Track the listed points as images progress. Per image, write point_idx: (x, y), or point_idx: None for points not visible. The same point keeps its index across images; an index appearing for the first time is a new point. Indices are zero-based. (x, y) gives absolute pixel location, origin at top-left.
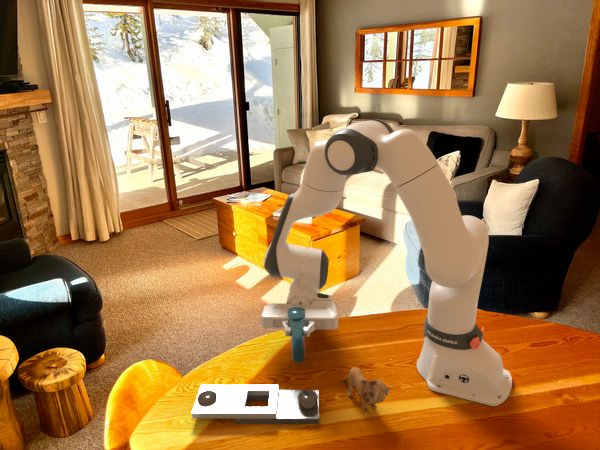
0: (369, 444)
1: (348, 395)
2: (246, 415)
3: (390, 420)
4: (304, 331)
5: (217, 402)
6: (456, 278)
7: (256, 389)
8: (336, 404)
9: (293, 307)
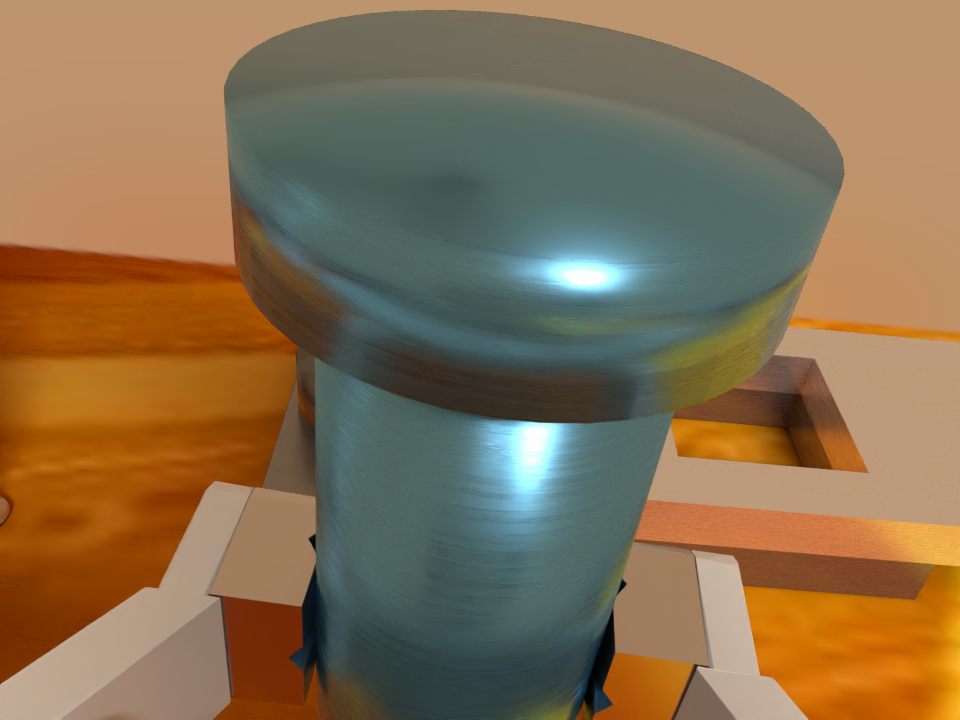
0: (83, 251)
1: (7, 501)
2: None
3: None
4: (311, 499)
5: None
6: None
7: (796, 474)
8: (147, 457)
9: (684, 238)
